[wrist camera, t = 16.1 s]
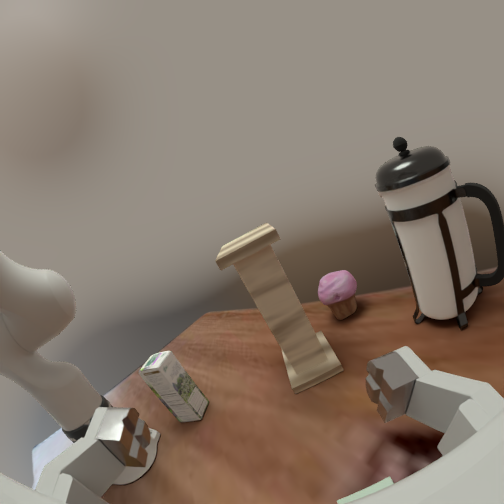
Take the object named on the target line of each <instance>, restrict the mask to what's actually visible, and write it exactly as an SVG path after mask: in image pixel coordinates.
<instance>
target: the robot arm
mask: <svg viewBox="0 0 504 504" xmlns="http://www.w3.org/2000/svg"><path fill="white" fill-rule="evenodd" d="M75 313H76V302H75V297H74V294H73V291H72V289H71V287H70V285H69V284H68V282H67V281H66V280H65V279H64V278H63V277H62V276H61V275H60V274H58V273H56V272H55V271H52V270H49V269H44V270H42V269H41V270H40V269H32V268H28V267H25V266H22V265H20V264H18V263H16V262H14V261H12V260H11V259H9V258H8V257H7V256H5V255H4V254H3V253H2V252H1V251H0V375H3V376H5V377H7V378H9V379H11V380H12V381H14V382H15V383H17V384H18V385H20V386H21V387H22V388H24V389H25V390H26V391H27V392H29V393H30V394H31V395H32V396H33V397H34V398H35V399H36V400H37V401H38V402H39V403H40V404H41V406H42V407H43V408H44V409H45V410H46V411H47V412H48V413H49V414H50V415H51V416H52V417H53V419H54V420H55V421H56V422H57V423H58V424H59V425H60V426H61V427H62V431H63V432H64V433H65V434H66V436H67V437H68V438H69V439H70V440H71V441H72V442H73V443H74V444H72V445H71V446H70V447H69V448H67V449H66V450H65V451H64V452H62V453H61V454H60V455H58V456H57V457H56V458H55V459H53V460H52V461H51V462H49V463H48V464H47V465H45V466H44V468H43V471H42V473H41V476H40V479H39V481H38V484H37V487H36V489H35V490H33V489H31V488H29V487H27V486H25V485H23V484H21V483H19V482H17V481H15V480H13V479H11V478H9V477H8V476H6V475H4V474H2V473H0V504H110V503H108V502H106V501H105V500H103V499H102V498H101V497H102V495H103V494H104V493H105V492H106V491H107V490H108V488H109V487H110V486H111V485H112V484H118V485H123V484H128V483H131V482H133V481H135V480H137V479H138V478H140V477H141V476H142V475H143V474H144V473H145V472H146V471H147V470H148V469H149V468H150V466H151V465H152V463H153V461H154V459H155V456H156V451H157V442H158V440H159V437H160V433H159V432H158V431H156V430H153V429H150V428H148V425H147V424H146V423H145V421H143V420H141V419H139V418H138V417H139V413H138V412H137V410H136V409H135V408H116V407H113V406H112V405H111V404H110V402H109V401H108V400H106V399H105V398H104V397H103V396H101V395H99V394H98V393H97V391H96V390H95V389H94V388H93V386H92V385H91V384H90V383H89V381H88V380H87V379H86V378H85V376H84V375H83V373H82V372H81V371H80V369H79V368H77V367H76V366H75V365H73V364H70V363H68V362H52V361H49V360H47V359H45V358H43V357H42V356H41V355H40V354H39V353H38V352H37V351H36V350H37V349H38V348H40V347H41V346H43V345H44V344H46V343H47V342H49V341H50V340H51V339H53V338H55V337H56V336H57V335H59V334H60V333H61V331H63V330H64V329H65V328H66V327H67V325H68V324H69V323H70V322H71V321H72V320H73V319H74V318H75ZM367 371H368V372H369V375H368V376H367V378H366V389H367V393H368V396H369V398H370V399H371V401H372V402H374V403H376V404H378V407H377V411H378V413H379V414H380V416H381V418H382V419H383V421H384V423H386V422H388V421H390V420H393V419H395V418H397V417H400V416H402V415H404V414H406V415H407V416H409V417H411V418H413V419H415V420H417V421H419V422H422V423H424V424H426V425H428V426H430V427H432V428H434V429H436V430H439V431H441V432H443V433H445V434H444V436H443V438H442V439H441V441H440V443H439V445H438V449H439V450H440V452H441V454H442V455H443V457H441V458H440V459H438V460H436V461H435V462H433V463H431V464H430V465H428V466H426V467H425V468H423V469H421V470H419V471H418V472H416V473H414V474H412V475H410V476H408V477H406V478H404V479H403V480H401V481H399V482H396V483H394V484H392V485H390V486H388V487H386V488H384V489H381V490H379V491H377V492H374V493H372V494H369V495H367V496H364V497H362V498H359V499H356V500H354V501H351V502H348V503H345V504H504V399H503V398H502V397H501V396H500V395H499V394H498V392H497V391H496V390H495V389H494V388H493V387H492V386H491V385H490V384H488V383H485V382H481V381H477V380H472V379H468V378H464V377H460V376H456V375H453V374H449V373H445V372H441V371H438V370H433V371H431V370H430V369H429V368H428V367H427V366H426V365H425V364H424V363H423V362H422V361H421V360H420V358H419V357H418V356H417V355H416V354H415V353H414V352H413V351H412V350H411V349H410V348H409V347H407V346H404V347H402V348H400V349H398V350H395V351H393V352H390V353H388V354H386V355H383V356H381V357H378V358H376V359H373V360H371V361H369V362H368V364H367Z"/></svg>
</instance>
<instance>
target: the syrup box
mask: <svg viewBox="0 0 504 504" xmlns="http://www.w3.org/2000/svg"><path fill="white" fill-rule="evenodd" d="M138 373H139V374H140V376H141V377H142V378H143V380H144V381H145V382H146V383H147V385H148V386H149V387H150V388H151V390H152V391H153V392H154V393H155V394H156V396H157V397H158V398H159V399H160V400H161V401H162V403H163V404H164V405H165V406H166V407H167V408H168V409H169V411H170V412H171V413H172V414H173V415H174V416H175V417H176V418H177V419H178V420H179V421H180V422H188V421H196V420H201V419H202V417H203V415H204V412H205V410H206V408H207V405H208V403H209V400H208V399H207V398H206V397H205V395H204V394H203V393H202V392H201V390H200V389H199V388H198V387H197V385H196V384H195V383H194V381H193V380H192V379H191V377H190V376H189V375H188V374H187V372H186V371H185V369H184V368H183V367H182V365H181V364H180V363H179V361H178V360H177V359H176V357H175V356H174V354H173V353H172V351H165V352H160V353H157V354H154V355H152V356H151V357H150V358H149V359H148V360H147V362H146V363H145V364H144V365H143V367H142V368H141V369H140V371H139V372H138Z"/></svg>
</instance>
